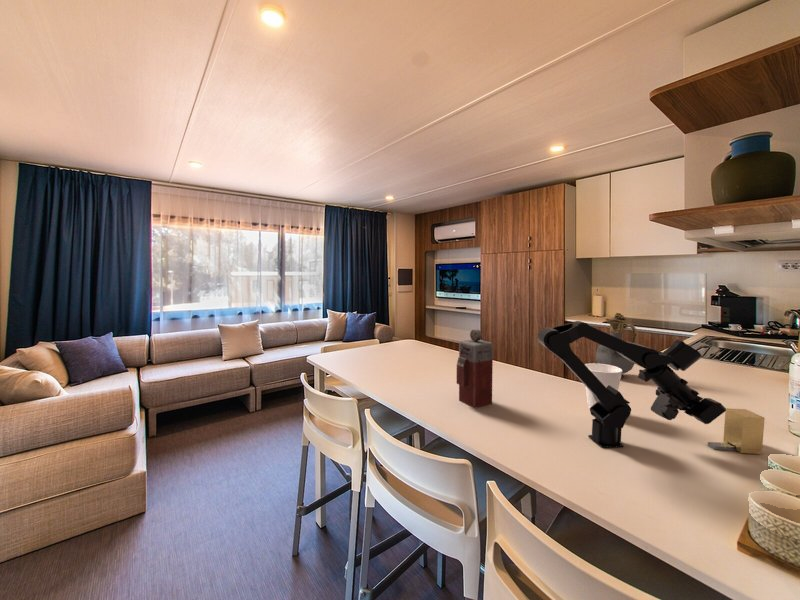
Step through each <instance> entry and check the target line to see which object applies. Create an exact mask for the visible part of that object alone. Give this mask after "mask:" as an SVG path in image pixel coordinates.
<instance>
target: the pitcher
mask: <svg viewBox="0 0 800 600" xmlns="http://www.w3.org/2000/svg"><path fill="white" fill-rule="evenodd" d="M604 321H605V322H608V323H609V334H610V335H612V336H614V337H616V338H619V339H621V340H623V333H624V330H625V329H627V328H630V329H632V332H633V335H632V339H631V342H632V343H635V341H636V339H637V333H638V332H637V329H636V327H635V325H634V324H632V323H627V324H625V323H626V321H627V317H626V316H624V314H622V313H619V312H616V313H614V314H613V317H612V318H605V320H604ZM596 349H597V350H596V352H595V361H596V363H599V364H607V365H612V366H616V367H618V368H620V369H622V371H623V372H622V375H621V379H623V378H625V375H624V374H627V373H629V372H630V371H631V370H632V369H633V368H634V366H635V364H634V363H632V362H630V361H629V360H627V359H626V358H624V357H623V356H621V355H620V354H619V353H617V352H616V351H614V350H612V349H610V348H607V347H605V346H603V345H601V344H599V345H598V346H597V348H596Z"/></svg>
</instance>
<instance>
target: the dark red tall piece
mask: <svg viewBox="0 0 800 600" xmlns="http://www.w3.org/2000/svg"><path fill="white" fill-rule="evenodd" d="M469 336H470V339H466V340H461V341H459V344H458V345H459V347H458V352H459V353H458V354H459V355H458V359H457V362H456V384H457V385H458V401H459V402H461V403H463V404H464V405H466V406H468V407H471V408H472V409H477V408H480V407H484V406H488V405H493V367H494V365H493V360H494V359H493V358H494V357H493V356H494V349H493V348H494V345H493V342H491V341H487V340H482V338H483V337H482V336H483V335H482V331H481V330H480V329H478V328H475V329H471V330H470V333H469Z"/></svg>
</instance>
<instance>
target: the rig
mask: <svg viewBox="0 0 800 600" xmlns="http://www.w3.org/2000/svg"><path fill="white" fill-rule="evenodd" d="M707 446H708V447H709V448H711V449H713V451H733V452H738V451H737V450H736V446H735V445H733V444H731V443H723V442H720V441H719V442H714V441H713V442H712V441H707Z"/></svg>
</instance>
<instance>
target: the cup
mask: <svg viewBox="0 0 800 600" xmlns="http://www.w3.org/2000/svg"><path fill="white" fill-rule="evenodd" d="M584 365H585V366H586V367H587V368H588V369H589V370H590V371H591V372H592V373H593V374H594V375H595V376H596V377H597V378H598V380H599V381H600V382H601V383H602V384H603V385H604V386H605V387H607V386H608V385H610V386H611V387H613V388H614V389H616V390H617V391H619V387H620V383H621V379H622V378H621V375H622V372H623V371H622V369H620V368H618V367H616V366H612V365H607V364H599V363H597V362H596V363H595V362H592V363H584ZM584 387H585V392H586V393H585V394H586V402H587V406H588V411H589V412H590V410H589V409H590V408H591V407H592V406H593V405H594V404H595V403H597V402H596V401H595V399H594V397H593V394H592V393H591V391H590V390H589V389H588V388H587V387H586V386H585V385H584Z"/></svg>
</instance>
